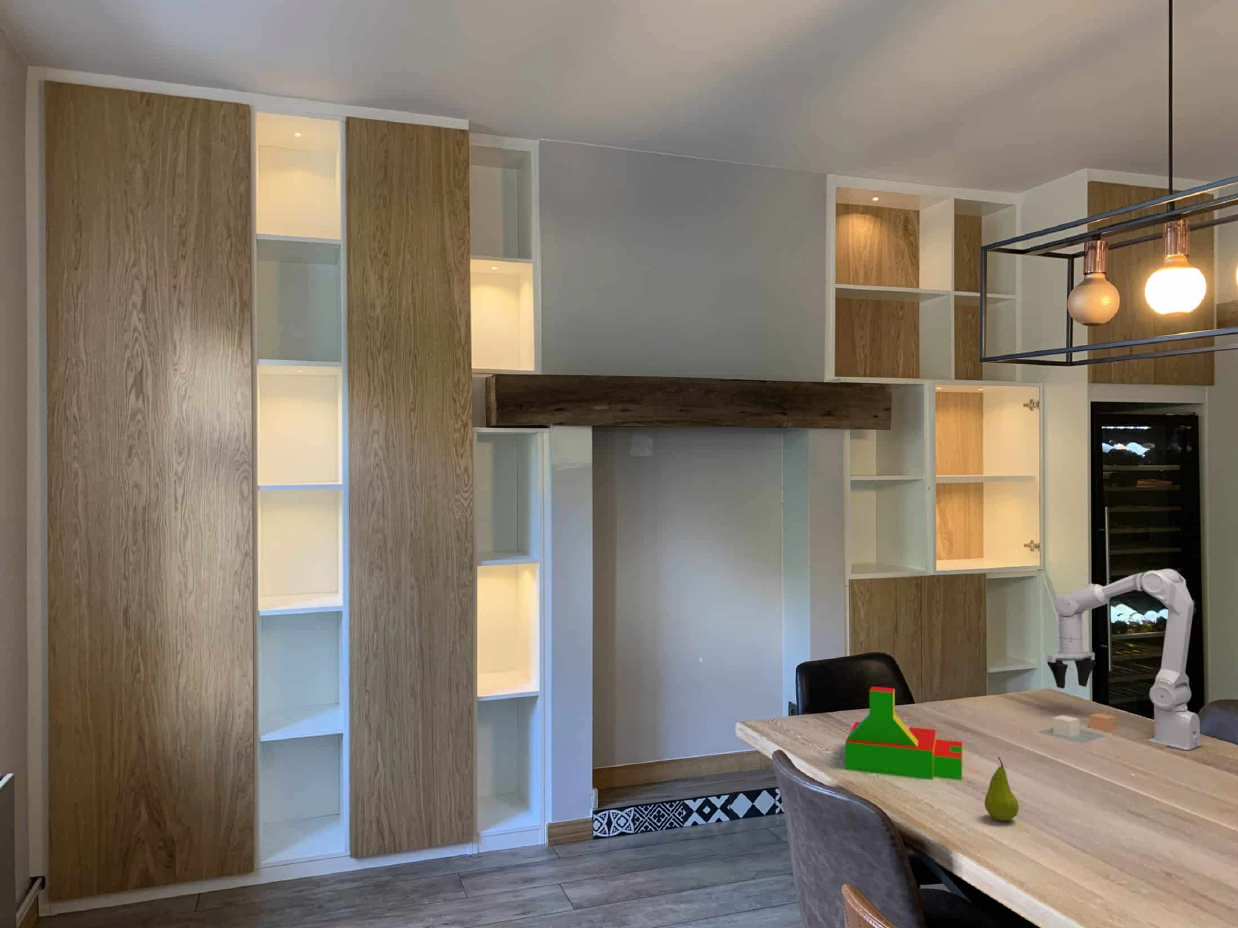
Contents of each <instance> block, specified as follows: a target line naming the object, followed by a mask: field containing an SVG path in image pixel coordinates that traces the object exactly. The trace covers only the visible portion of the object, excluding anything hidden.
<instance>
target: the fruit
mask: <svg viewBox="0 0 1238 928" xmlns="http://www.w3.org/2000/svg"><path fill="white" fill-rule="evenodd" d="M997 758H998V760H999V762H1000V764H1001V765H1000V766H998V768H997V769H996V771H995V772H994V773H993V775H992V777H991V779H990V782H989V786H988V789H987V793H986V794H985V797H984V807H985V810H986V811H987V813H988V815H989V816H990V817H991V818H992V819H993V820H994V821H998V822H1010V821H1011V820H1012V819H1014V818H1015V817H1016V816H1017V815H1018V813H1019V809H1020V808H1019V807H1020V806H1019V802H1018V799H1017V798H1016V796H1015V795H1014V793H1013V792H1012V789H1011V786H1010V785H1009V781H1008V776H1007V772H1006V769H1005V767H1004V764H1003V761H1002V759H1001V757H1000V756H998V757H997Z"/></svg>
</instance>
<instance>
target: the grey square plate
mask: <svg viewBox="0 0 1238 928" xmlns="http://www.w3.org/2000/svg"><path fill="white" fill-rule="evenodd" d="M1037 733H1038V734H1043V735H1047V736H1051V737H1057V738H1060V739H1064V740H1067V741H1072V742H1078V743H1081V744H1085V743H1089V742H1091V741H1094V740H1098V739H1100V738H1105V737H1107V734H1101V733H1097V732H1093V731H1089V730H1083V729H1080V728H1079V734H1078V735H1075V736H1072V737H1068V736H1064V735H1060V734H1056V733H1053V727H1051V728H1048V729H1044V730H1041V731H1038V732H1037Z"/></svg>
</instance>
